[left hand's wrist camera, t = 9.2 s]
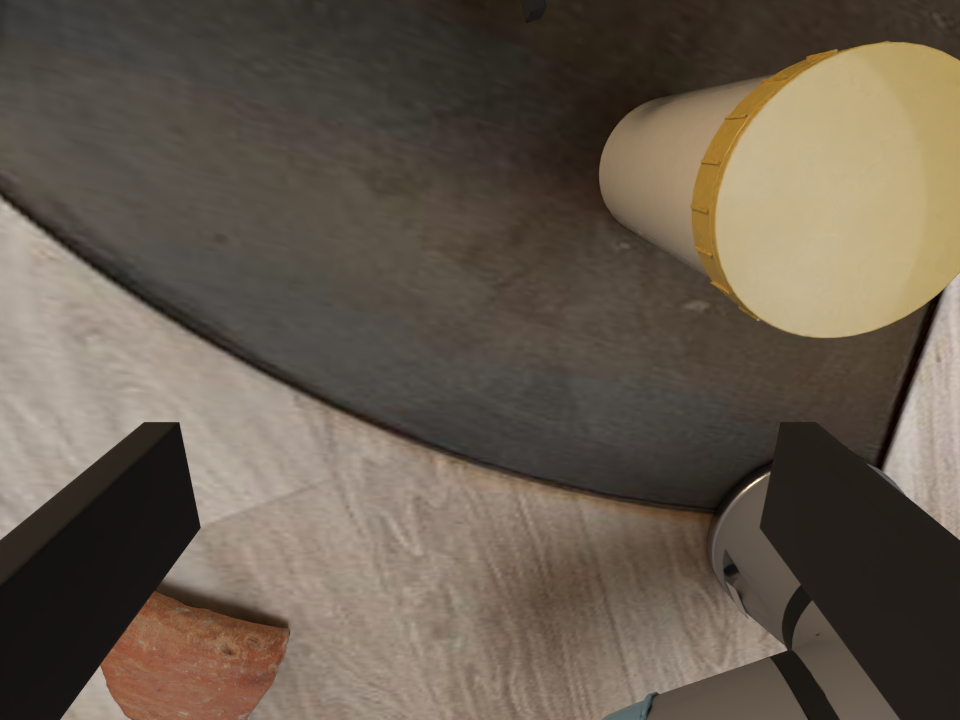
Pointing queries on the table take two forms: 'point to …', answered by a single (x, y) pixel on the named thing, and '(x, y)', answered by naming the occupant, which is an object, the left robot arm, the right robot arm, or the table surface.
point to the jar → (665, 164)
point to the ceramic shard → (192, 663)
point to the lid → (836, 191)
